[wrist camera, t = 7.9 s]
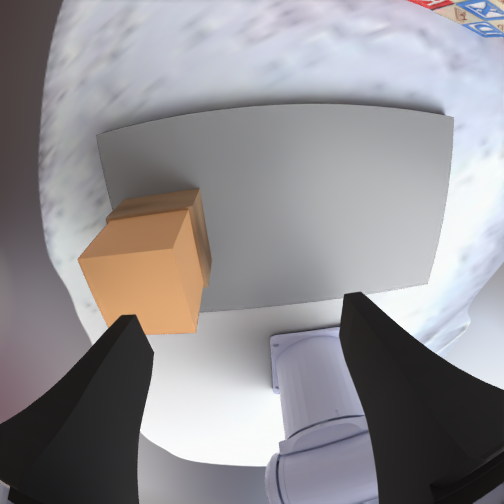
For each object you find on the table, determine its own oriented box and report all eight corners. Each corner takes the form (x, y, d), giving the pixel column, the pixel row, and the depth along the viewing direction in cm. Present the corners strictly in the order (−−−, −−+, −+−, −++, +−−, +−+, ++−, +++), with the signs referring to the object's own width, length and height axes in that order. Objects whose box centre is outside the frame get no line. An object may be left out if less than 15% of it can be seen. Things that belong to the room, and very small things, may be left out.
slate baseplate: (422, 277, 22) (427, 283, 21) (150, 306, 22) (147, 315, 21) (445, 115, 15) (453, 117, 14) (102, 132, 15) (96, 135, 14)
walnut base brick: (212, 260, 19) (208, 287, 16) (142, 266, 19) (130, 292, 16) (199, 188, 17) (192, 206, 14) (124, 199, 17) (105, 218, 14)
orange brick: (203, 282, 16) (195, 332, 13) (132, 288, 16) (112, 334, 13) (188, 209, 14) (172, 248, 11) (110, 220, 14) (77, 259, 11)
